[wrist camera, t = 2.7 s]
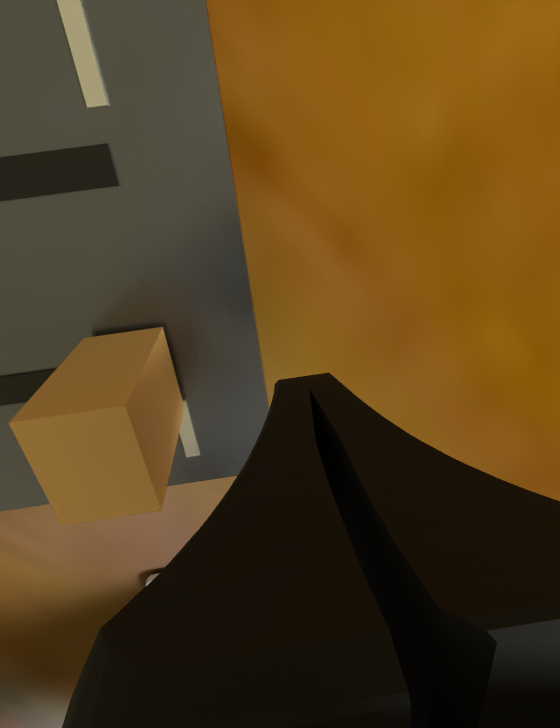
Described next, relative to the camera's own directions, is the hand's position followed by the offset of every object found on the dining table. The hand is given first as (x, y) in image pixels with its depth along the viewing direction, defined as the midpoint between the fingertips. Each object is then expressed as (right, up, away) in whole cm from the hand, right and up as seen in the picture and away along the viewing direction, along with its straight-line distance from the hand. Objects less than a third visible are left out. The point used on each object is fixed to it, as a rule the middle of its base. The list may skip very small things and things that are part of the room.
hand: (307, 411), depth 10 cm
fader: (-5, +1, +3) cm, 6 cm away
